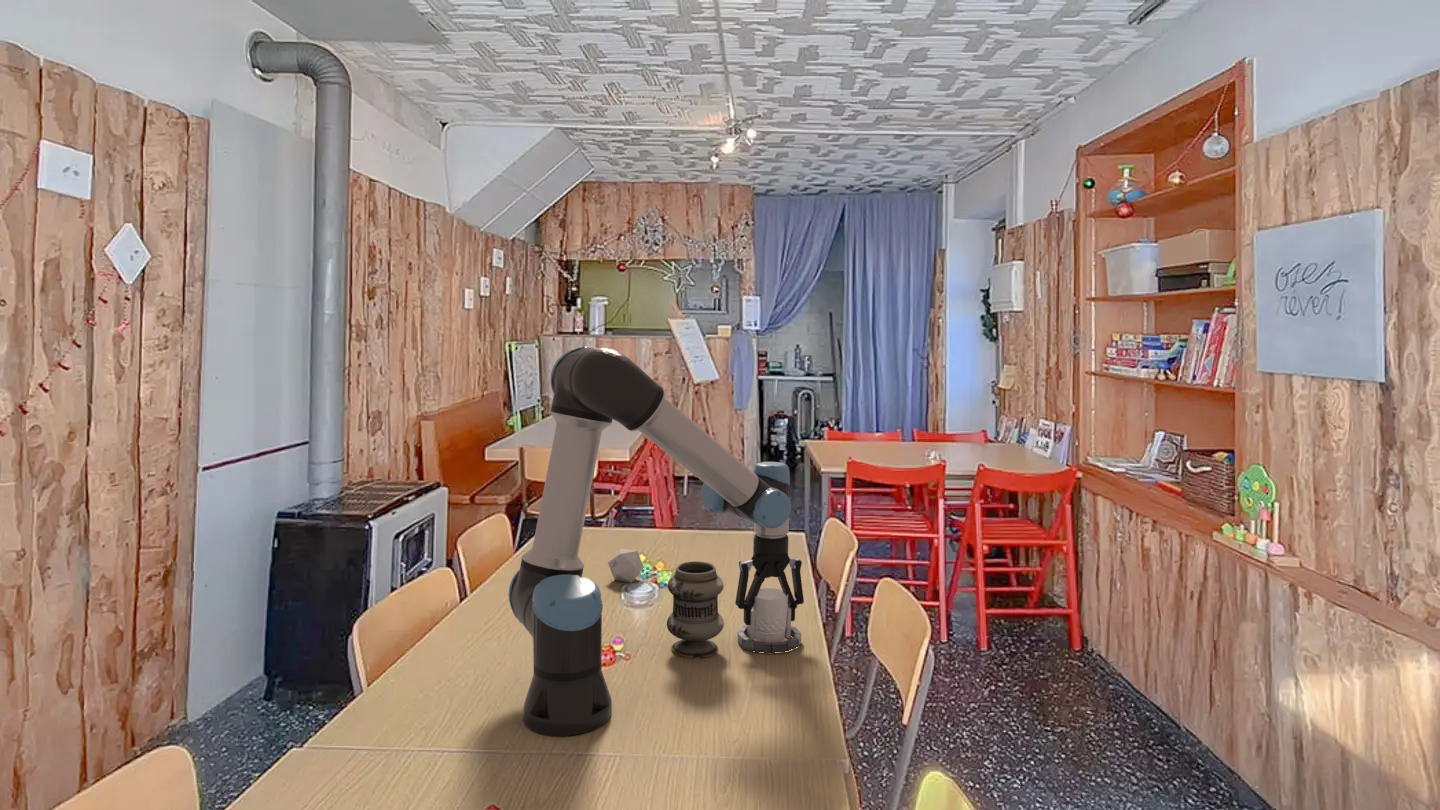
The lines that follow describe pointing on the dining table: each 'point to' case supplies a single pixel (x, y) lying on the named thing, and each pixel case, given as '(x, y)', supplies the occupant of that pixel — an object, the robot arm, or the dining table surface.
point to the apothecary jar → (695, 609)
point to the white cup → (770, 615)
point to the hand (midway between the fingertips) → (769, 636)
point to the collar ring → (767, 646)
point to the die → (625, 565)
